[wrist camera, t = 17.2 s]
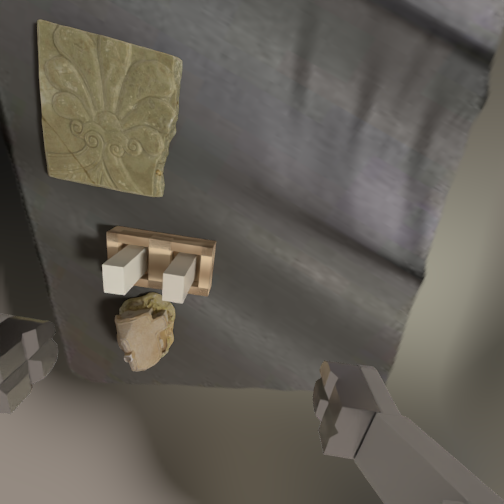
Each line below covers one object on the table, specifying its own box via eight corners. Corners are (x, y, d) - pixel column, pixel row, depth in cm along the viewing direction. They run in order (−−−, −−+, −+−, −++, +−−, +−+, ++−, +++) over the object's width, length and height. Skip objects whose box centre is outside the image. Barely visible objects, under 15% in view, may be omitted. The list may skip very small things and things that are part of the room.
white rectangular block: (129, 243, 45) (102, 264, 37) (147, 246, 45) (123, 267, 37) (130, 267, 47) (104, 292, 39) (147, 270, 47) (124, 295, 39)
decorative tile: (57, 175, 43) (41, 177, 40) (50, 24, 36) (29, 12, 33) (172, 201, 44) (165, 205, 41) (188, 60, 37) (181, 51, 34)
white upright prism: (179, 251, 45) (163, 273, 37) (197, 253, 45) (184, 276, 38) (178, 274, 47) (162, 300, 39) (195, 277, 47) (182, 303, 39)
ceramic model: (113, 294, 51) (80, 327, 41) (171, 289, 50) (150, 322, 41) (132, 352, 56) (107, 393, 47) (185, 349, 55) (170, 390, 46)
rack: (117, 225, 46) (106, 231, 42) (216, 241, 46) (212, 248, 43) (118, 272, 49) (108, 281, 46) (210, 286, 49) (207, 296, 46)
